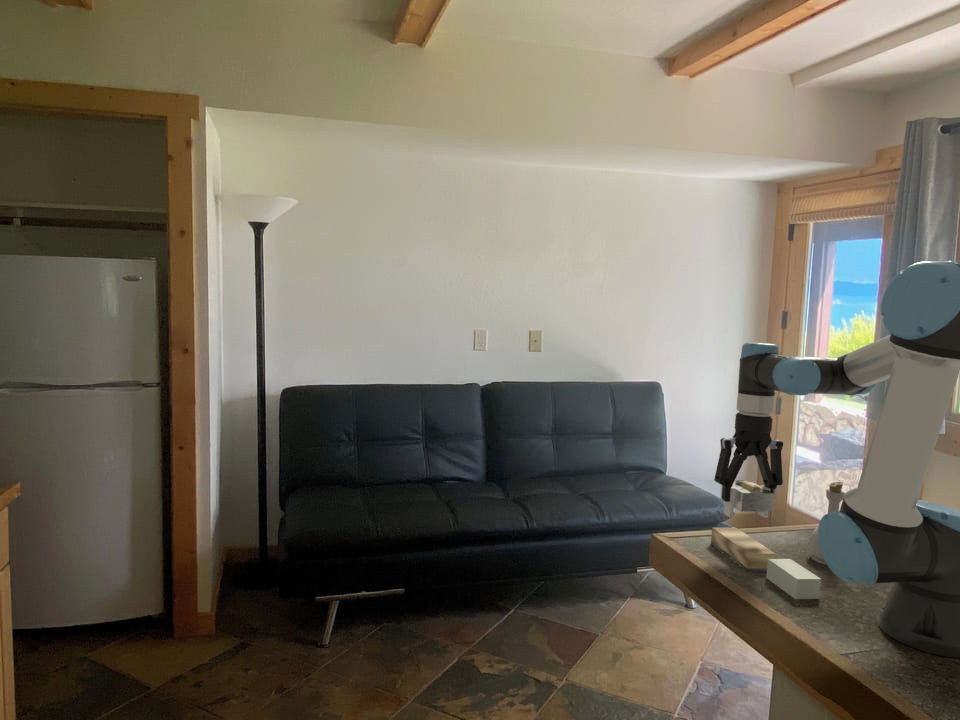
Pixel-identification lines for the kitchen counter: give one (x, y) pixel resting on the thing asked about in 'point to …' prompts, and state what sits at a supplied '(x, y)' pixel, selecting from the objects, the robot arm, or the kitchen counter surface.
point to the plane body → (742, 549)
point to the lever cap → (752, 497)
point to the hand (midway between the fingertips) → (745, 515)
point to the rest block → (793, 579)
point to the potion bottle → (834, 500)
